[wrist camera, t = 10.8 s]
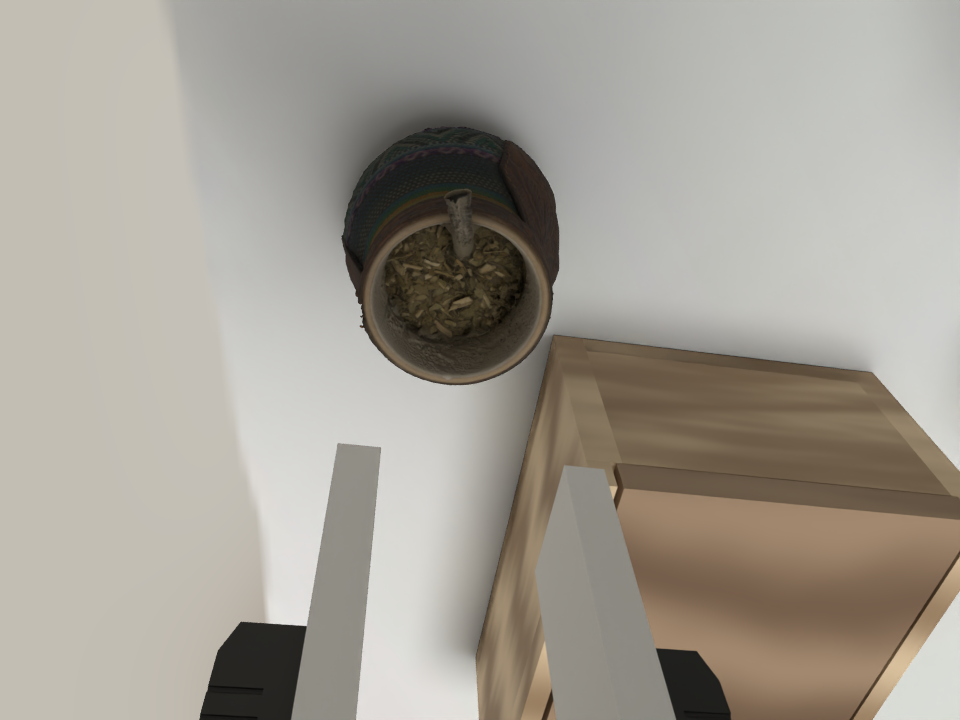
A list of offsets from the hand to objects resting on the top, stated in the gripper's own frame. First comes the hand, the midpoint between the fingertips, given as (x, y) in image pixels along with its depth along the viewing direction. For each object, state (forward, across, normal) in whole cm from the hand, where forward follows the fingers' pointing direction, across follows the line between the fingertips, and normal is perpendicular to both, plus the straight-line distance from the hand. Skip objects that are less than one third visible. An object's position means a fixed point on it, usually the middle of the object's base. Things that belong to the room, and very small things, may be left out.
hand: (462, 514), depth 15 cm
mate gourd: (+17, 0, 0) cm, 17 cm away
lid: (+9, +12, -15) cm, 21 cm away
